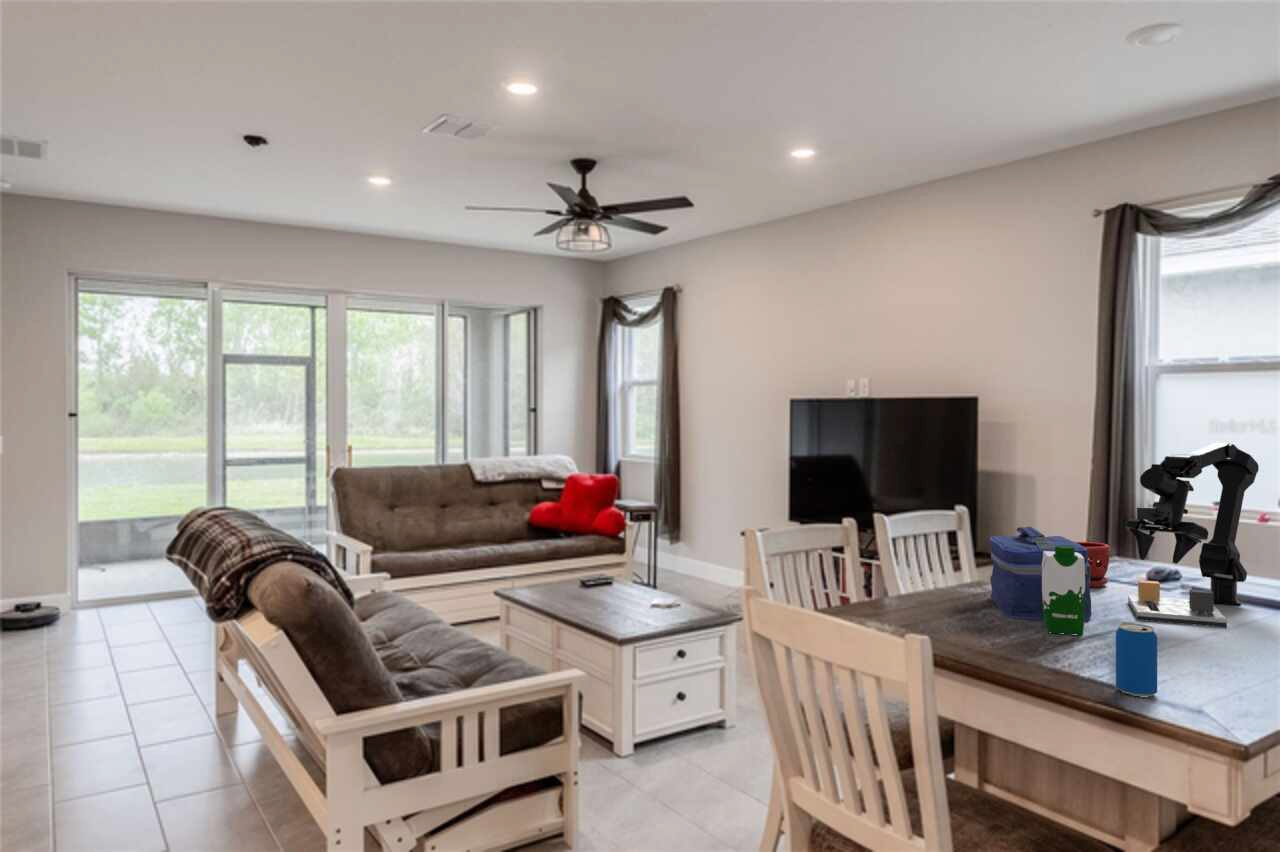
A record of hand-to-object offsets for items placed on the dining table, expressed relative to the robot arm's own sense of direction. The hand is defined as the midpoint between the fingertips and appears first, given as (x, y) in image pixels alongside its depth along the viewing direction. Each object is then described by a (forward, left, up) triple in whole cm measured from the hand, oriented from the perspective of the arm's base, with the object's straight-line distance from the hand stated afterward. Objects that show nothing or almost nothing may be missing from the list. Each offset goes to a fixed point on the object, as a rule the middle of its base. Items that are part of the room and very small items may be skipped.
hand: (1157, 561), depth 206 cm
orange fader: (-6, -1, -12) cm, 14 cm away
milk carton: (+26, -22, -14) cm, 37 cm away
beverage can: (+68, -12, -14) cm, 70 cm away
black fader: (+2, +9, -12) cm, 15 cm away
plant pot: (-34, -14, -14) cm, 39 cm away
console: (-2, +4, -13) cm, 14 cm away
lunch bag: (+4, -27, -14) cm, 31 cm away
